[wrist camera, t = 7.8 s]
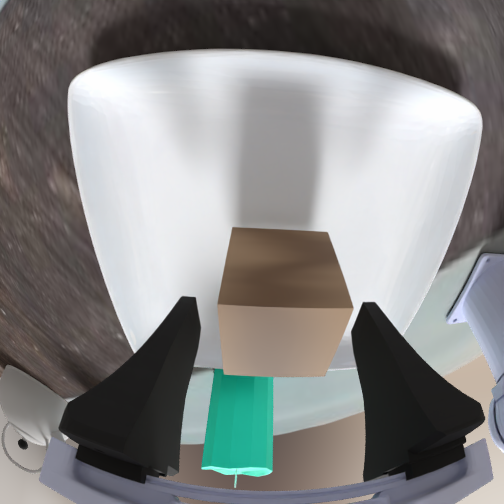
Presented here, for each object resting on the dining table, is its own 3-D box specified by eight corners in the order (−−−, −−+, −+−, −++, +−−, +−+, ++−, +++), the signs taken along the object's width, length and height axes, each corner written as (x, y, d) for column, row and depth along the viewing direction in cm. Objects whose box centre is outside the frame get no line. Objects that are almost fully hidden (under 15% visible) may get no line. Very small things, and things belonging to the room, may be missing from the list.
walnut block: (327, 231, 13) (353, 308, 9) (312, 300, 15) (324, 376, 11) (232, 227, 13) (217, 304, 9) (233, 297, 15) (223, 374, 11)
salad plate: (456, 98, 11) (491, 108, 8) (375, 340, 23) (383, 370, 20) (96, 72, 11) (60, 75, 8) (146, 330, 23) (136, 360, 20)
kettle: (52, 382, 36) (19, 477, 18) (103, 427, 49) (85, 500, 30) (-8, 355, 38) (-39, 424, 19) (39, 402, 50) (19, 461, 32)
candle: (207, 359, 24) (188, 479, 14) (271, 358, 24) (269, 485, 14) (220, 387, 28) (209, 487, 18) (274, 387, 27) (273, 490, 17)
